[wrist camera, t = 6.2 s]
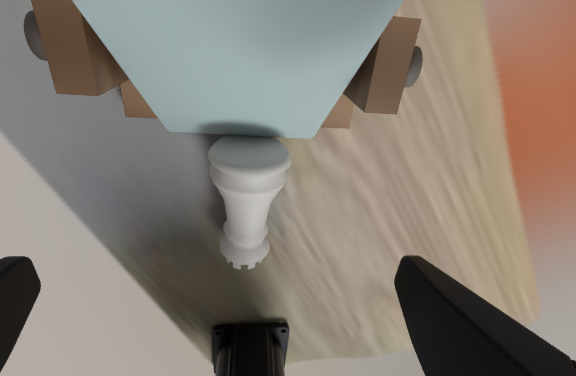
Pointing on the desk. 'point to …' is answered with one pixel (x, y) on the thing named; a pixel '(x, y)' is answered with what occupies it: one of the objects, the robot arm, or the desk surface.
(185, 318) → the desk surface
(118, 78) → the flap frame
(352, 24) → the pivoting flap
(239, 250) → the rook chess piece
